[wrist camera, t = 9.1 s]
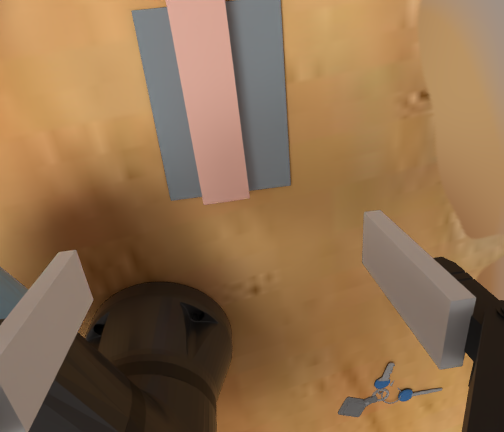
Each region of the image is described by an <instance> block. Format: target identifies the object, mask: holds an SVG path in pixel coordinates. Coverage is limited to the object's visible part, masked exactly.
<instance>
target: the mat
mask: <svg viewBox="0 0 504 432" xmlns="http://www.w3.org/2000/svg"><path fill="white" fill-rule="evenodd" d="M225 5H226V13H227V21H228V29H229V37H230V45H231V53H232V60H233V68H234V76H235V84H236V92H237V100H238V108H239V116H240V124H241V132H242V140H243V147H244V155H245V163H246V171H247V179H248V187H249V191H251V190H259V189H267V188H275V187H283V186H291V181H290V163H289V145H288V127H287V109H286V90H285V72H284V54H283V36H282V18H281V0H234V1H225ZM132 16H133V21H134V26H135V30H136V35H137V40H138V45H139V50H140V55H141V59H142V64H143V69H144V74H145V79H146V83H147V88H148V93H149V98H150V103H151V108H152V112H153V117H154V122H155V127H156V132H157V136H158V141H159V146H160V151H161V156H162V160H163V165H164V170H165V175H166V180H167V185H168V189H169V194H170V199H171V201H172V200H180V199H188V198H196V197H202V193H201V187H200V182H199V177H198V171H197V166H196V161H195V155H194V150H193V144H192V139H191V134H190V128H189V123H188V118H187V112H186V107H185V102H184V96H183V91H182V85H181V80H180V75H179V69H178V64H177V59H176V53H175V48H174V42H173V37H172V32H171V26H170V21H169V16H168V10H167V7H164V8H154V9H144V10H134V11H132Z"/></svg>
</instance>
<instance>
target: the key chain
mask: <svg viewBox="0 0 504 432" xmlns="http://www.w3.org/2000/svg"><path fill="white" fill-rule="evenodd" d="M393 366H395V364H394V363H389V364H388V366H387V368H386V370H385V372H384V374H383V376H382V377H381V378H380V379H378V380H376V382H375V384H374V386H375V387H376V388H378V390H376V391H375V392H374V393H373V395H372V396H371V397H368V398H366V399H359V398H353V397H347V398H346V399H345V401H344V403H343V404H342V406H341V408H340V410H339V411H338V414H339V415H346V416H353V417H359V416H360V415H361V413H362V412H363V410H364V408H365V407H366V406H368V405H369V404H371V403H374V402H377V401H384V400H385V399H386V398H387V397H388V396H389V391H388V390H387V389H383V388H384V387H386V386H388V384H389V383H390V379H389V377H390V375H389V374H391V373H392V371H391V370H393ZM393 382H394V381H393ZM393 382H392V383H391V384H390V386H392V384H393ZM381 388H382V389H381ZM398 389H399V388H398ZM399 390H400V389H399ZM441 390H442V388H438V389H430V390H426V391H420V392H414V393H413V392H412V390H410V389H407V390H404V391H402V392H401V390H400V394H399V396H398V398H399V399H398V400H400V401H407V400H409V399H410V398H411V397H412V396H416V395H420V394H427V393H432V392H436V391H441ZM379 391H382V393H379ZM384 391H386V393H387V394H386V396H385V397H384V398H383V397H382V395H383V392H384ZM377 392H378V394H382V395H381V397H382V399H377V397H376V395H375V394H376V393H377ZM398 400H397V401H398ZM397 401H395V402H397ZM384 402H385V403H388V402H386V401H384ZM395 402H392V403H395ZM388 404H391V403H388Z"/></svg>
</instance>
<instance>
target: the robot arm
mask: <svg viewBox="0 0 504 432" xmlns="http://www.w3.org/2000/svg"><path fill="white" fill-rule="evenodd" d="M362 263H363V265H364V266H365V267H366V269H367V270H368V272H369V273H370V274H371V276H372V277H373V278H374V280H375V281H376V283H377V284H378V285H379V287H380V288H381V289H382V291H383V292H384V294H385V295H386V296H387V298H388V299H389V300H390V302H391V303H392V305H393V306H394V307H395V309H396V310H397V311H398V313H399V314H400V316H401V317H402V318H403V320H404V321H405V323H406V324H407V325H408V327H409V328H410V329H411V331H412V332H413V334H414V335H415V336H416V338H417V339H418V340H419V342H420V343H421V345H422V346H423V347H424V349H425V350H426V351H427V353H428V354H429V356H430V357H431V358H432V360H433V361H434V362H435V364H436V365H437V367H438V368H439V369H447V368H453V367H460V366H462V365H463V360H464V355H465V352H466V353H467V354H468V356H469V357H470V358H471V359H472V360H473V361H474V362H473V367H472V371H471V376H470V380H469V385H468V386H469V390H468V397H467V403H466V409H465V415H464V421H463V427H462V432H504V301H503V300H498V299H497V298H496V297H495V296H494V295H492V294H491V293H490V292H489V291H488V290H487V289H485V288H484V287H483V286H482V285H481V284H479V283H478V282H477V281H476V280H475V279H473V278H472V277H471V276H470V275H469V274H468V273H465V271H464V270H463V269H462V268H461V267H459V266H458V265H457V264H456V263H454V262H452V261H450V260H448V259H446V258H444V257H437V258H432V257H431V256H430V255H429V254H428V253H427V252H426V251H425V250H423V249H422V248H421V247H420V246H419V245H418V244H417V243H416V242H415V241H414V240H412V239H411V238H410V237H409V236H408V235H407V234H406V233H405V232H404V231H403V230H401V229H400V228H399V227H398V226H397V225H396V224H395V223H394V222H393V221H392V220H391V219H389V218H388V217H387V216H386V215H385V214H384V213H383V212H382V211H381V210H376V211H368V212H364V225H363V251H362ZM92 302H93V297H92V294H91V291H90V288H89V285H88V282H87V280H86V277H85V274H84V271H83V268H82V265H81V262H80V259H79V257H78V254H77V251H76V250H70V251H63V252H58V253H57V255H56V256H55V257H54V258H53V260H52V261H51V262H50V263H49V265H48V266H47V267H46V268H45V270H44V271H43V272H42V274H41V275H40V276H39V277H38V279H37V280H36V281H35V282H34V284H33V285H32V286H31V287H30V289H27V288H26V287H25V286H24V285H22V284H21V283H20V282H19V281H17V280H16V279H15V278H14V277H13V276H11V275H10V274H9V273H8V272H6V271H5V270H4V269H3V268H1V267H0V432H217V421H216V402H217V399H218V397H219V394H220V391H221V388H222V385H223V383H224V380H225V377H226V374H227V371H228V369H229V366H230V362H231V358H232V333H231V327H230V323H229V321H228V318H227V316H226V314H225V313H224V311H223V310H222V309H221V307H220V306H219V305H218V304H217V303H216V302H215V301H214V300H212V299H211V298H210V297H208V296H207V295H206V294H204V293H202V292H200V291H198V290H196V289H194V288H191V287H188V286H185V285H181V284H176V283H169V282H151V283H143V284H139V285H135V286H132V287H129V288H126V289H124V290H122V291H120V292H118V293H116V294H115V295H113V296H112V297H110V298H109V299H108V300H107V301H105V302H104V303H103V304H102V306H101V307H100V308H99V309H98V311H97V312H96V314H95V316H94V318H93V320H92V322H91V324H90V326H89V328H88V331H87V333H86V336H85V338H83V337H82V336H81V335H80V334H79V333H78V330H79V328H80V326H81V324H82V322H83V320H84V318H85V316H86V314H87V312H88V310H89V308H90V306H91V304H92Z"/></svg>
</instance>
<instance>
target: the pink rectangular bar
mask: <svg viewBox="0 0 504 432" xmlns="http://www.w3.org/2000/svg"><path fill="white" fill-rule="evenodd" d="M166 5H167V10H168V16H169V21H170V26H171V32H172V37H173V42H174V48H175V53H176V59H177V64H178V69H179V75H180V80H181V85H182V91H183V96H184V102H185V107H186V112H187V118H188V123H189V128H190V134H191V139H192V144H193V150H194V155H195V161H196V166H197V171H198V177H199V182H200V187H201V193H202V198H203V204H204V205H208V204H215V203H221V202H228V201H235V200H242V199H249V198H250V195H249V187H248V179H247V171H246V163H245V155H244V147H243V140H242V132H241V124H240V116H239V108H238V100H237V92H236V84H235V76H234V68H233V60H232V53H231V45H230V37H229V29H228V21H227V13H226V5H225V0H166Z"/></svg>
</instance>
